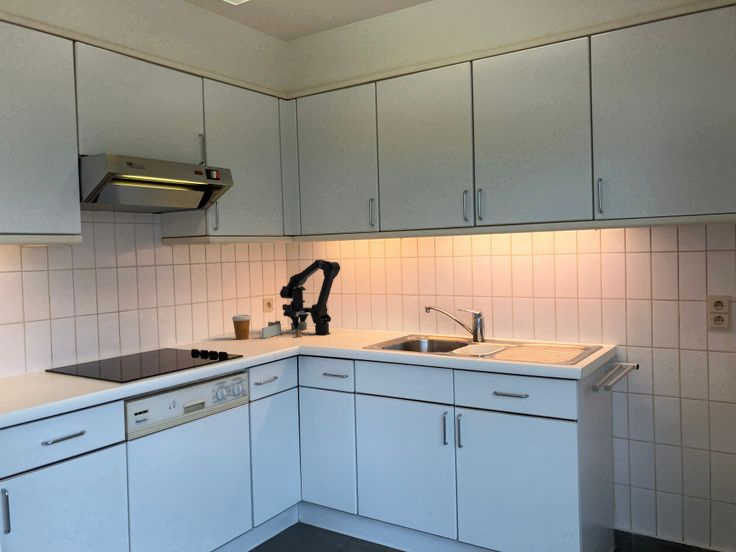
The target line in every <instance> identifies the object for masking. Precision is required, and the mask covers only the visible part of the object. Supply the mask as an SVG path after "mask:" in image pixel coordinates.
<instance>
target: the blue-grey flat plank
mask: <svg viewBox="0 0 736 552" xmlns="http://www.w3.org/2000/svg"><path fill="white" fill-rule="evenodd" d="M279 335H282V324H281V323H280V324H277V325H273V326H269V327H268V326H264V327H261V338H262V339H267V338H270V337H271V338H272V337H275V336H279Z"/></svg>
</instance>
